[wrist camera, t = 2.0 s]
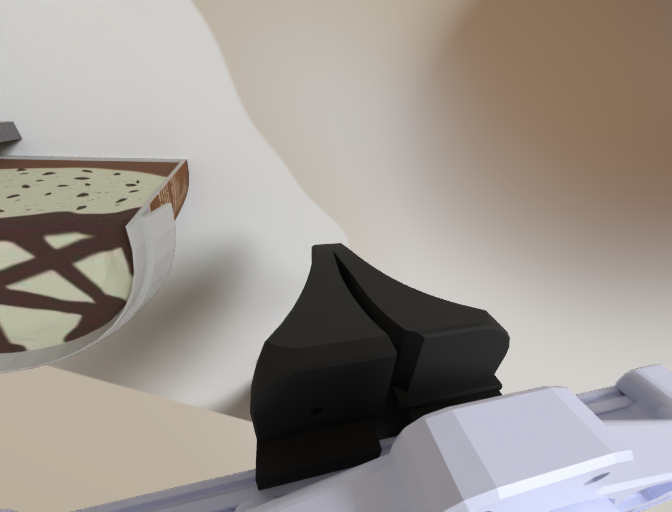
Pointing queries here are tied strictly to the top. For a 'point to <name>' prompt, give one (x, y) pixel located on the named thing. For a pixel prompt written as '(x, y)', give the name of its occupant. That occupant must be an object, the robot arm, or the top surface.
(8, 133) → the bookend
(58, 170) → the food container
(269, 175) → the top surface
